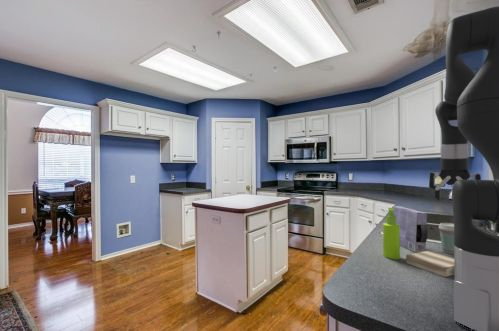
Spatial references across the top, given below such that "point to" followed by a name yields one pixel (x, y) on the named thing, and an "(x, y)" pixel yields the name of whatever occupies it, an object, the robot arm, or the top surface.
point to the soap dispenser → (391, 237)
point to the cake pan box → (411, 228)
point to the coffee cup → (447, 237)
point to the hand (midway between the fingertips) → (453, 201)
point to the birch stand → (432, 262)
